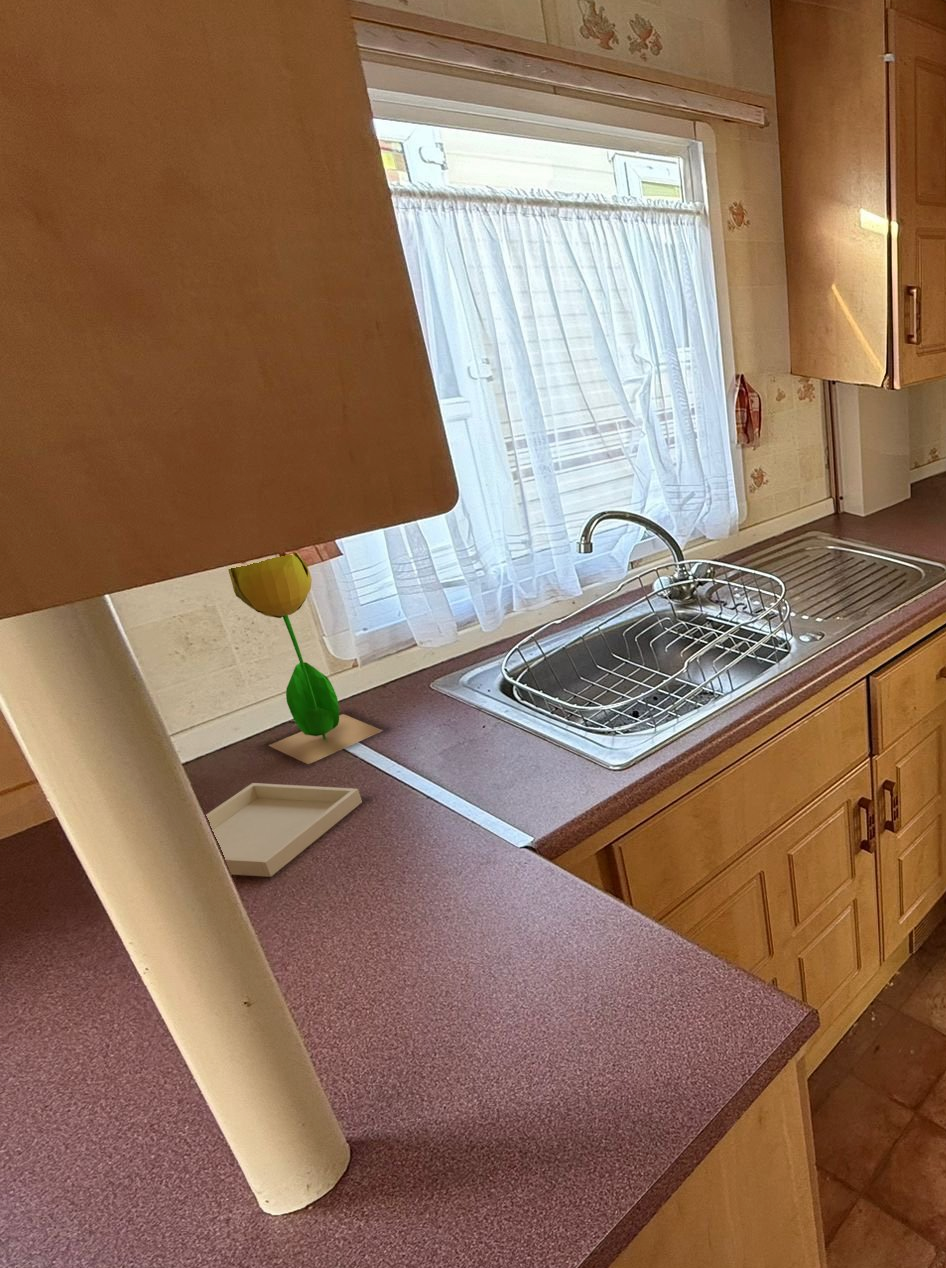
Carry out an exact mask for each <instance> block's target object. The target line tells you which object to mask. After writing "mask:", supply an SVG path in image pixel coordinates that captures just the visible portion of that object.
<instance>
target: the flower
mask: <svg viewBox="0 0 946 1268" xmlns="http://www.w3.org/2000/svg"><path fill="white" fill-rule="evenodd" d="M227 570H228V574H229V577H230V581H231V585H232V588H233V589H232V590H233V593H234V594H235V596H236V598H238V599H240V600H241V602H242V603H244V604H245V605H247V606H248V607H249V608H250V609H252V610H253V611H255V612H256V613H259V614H261V615H264V616H266V617H271V618H276V619H281V618H282V619H283V621H284V624H285V626H286V629H287V632H288V634H289V636H290V639H291V642H292V645H293V648H294V650H295V653H296V656H297V658H298V661H299V662H298V663H297V664H296V665H295V666H294V669H293V671H292V674H291V677H290V679H289V681H288V684H287V686H286V690H285V691H286V692H285V697H286V703H287V706H288V709H289V711H290V714H291V716H292V718H293V720H294V723H295V724H296V726H297V727H298V729H299V730H300V732H303V733H304V734H305V735H311V736H319V735H322V736H323V739H326V736H325V734H326V733H327V732H329V731H330V730H332V729H334V728H335V727H336V726H337V725H338V723H339V716H340V706H339V701H338V696H337V693H336V691H335V689H334V687H333V685H332V683H331V682H332V681H330V679H329V678H328V677H327V676H326V675H325V674H323V673H322V672H321V671H320V670H318V669H317V668H315V667H314V666H312V665H311V664H310V663H308V662H304V659H303V656H302V652H301V650H300V646H299V643H298V640H297V638H296V634H295V632H294V629H293V627H292V624H291V621H290V617H289V616H291V615H292V614H295V613H296V612H298V611H299V610H300V609H301V608H302V606H303V605H304V603H305V602H306V599H307V598H308V594H309V593H310V591H311V589H312V576H311V572H310V569H309V568H308V563H307V562H306V561H305V560H303V559H302V557H301V556H300V554H299V552H297V553H295V554H290V555H285V556H281V557H276V558H272V559H267V560H265V561H261V562H259V563H253V564H250V565H247V566H241V567H236V568H231V569H228V568H227Z"/></svg>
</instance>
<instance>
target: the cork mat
mask: <svg viewBox="0 0 946 1268" xmlns="http://www.w3.org/2000/svg"><path fill="white" fill-rule="evenodd" d="M382 732H384V730H383V729H380V728H378V727H375V726H373V725H371V724H369V723H366V722H364V721H361V720H359V719H356V718H354V717H351V716H349V715H347V714H345V713H342V714H339V723H338V725H337V726H336V727H335V728H334V729H332V730H330V731H329V732H327V733H326V734H325V736H326V739H323V736H322V735H319V736H311V735H305V734H304V733H303V732H302V731H299V732H297V733H294V734H292V735H290V736H287V737H285V738H282V739H280V740H277V741H275V742H273V743H271V744H268V745H267V746H268V747H270V748H272V749H274V750H276V751H279V752H281V753H282V754H284V755H286V756H289V757H291V758H293V759H296V760H297V761H299V762H302V763H303V764H306V765H310V764H313V763H315V762H317V761H319V760H322V759H324V758H326V757H328V756H331V755H332V754H335V753H337V752H339V751H342V750H344V749H346V748H348V747H351V746H352V745H355V744H357V743H359V742H362V741H364V740H366V739H368V738H370V737H373V736H375V735H378V734H379V733H382Z"/></svg>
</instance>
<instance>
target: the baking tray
mask: <svg viewBox="0 0 946 1268" xmlns="http://www.w3.org/2000/svg"><path fill="white" fill-rule="evenodd" d="M362 803H363V801H362V797H361V794H360V791H359V788H352V787H351V788H350V787H334V786H333V787H332V786H317V785H316V786H314V785H299V784H298V785H297V784H279V783H259V782H252V783H250V784H249V785H247V786H245V787H244V788H242V789H241V790H240V791H239V792H237V793H236V794H234V795H232V796H231V797H230V798H229V799H226V801H224V802H223V803H221V804H219V805H218V806H216V807H215V808H213V809H212V810H211V811H209V812H208V813H207V814H205V815H206V816H207V818H208V820H209V822H210V826H211V828H212V831H213V832H214V835H215V837H216V839H217V841H218V843H219V845H220V847H221V850H222V852H223V855H224V857H225V860H226V862H227V865H228V867H229V870H230V872H231V874H230V875H234V876H251V877H268V878H269V877H273V876H274V875H275V874H276V873H277V872H279V871H280V870H281V869H282V868H284V867H285V866H287V864H288V863H290V862H291V861H292V860H293V859H295V858H296V857H297V856H298V855H300V854H301V853H302V852H303V851H305V850H306V849H307V848H309V846H310V845H312V844H313V843H314V842H316V841H317V840H318V839H320V838H321V836H323V835H324V834H326V832H328V831H329V830H330V829H331V828H332V827H334V826H335V825H336V824H338V823H339V822H340V821H341V820H342V819H343V818H345V817H346V816H347V815H348V814H350V813H352V812H353V810H354V809H356V808H357V807H359V806H360V804H362Z"/></svg>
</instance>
